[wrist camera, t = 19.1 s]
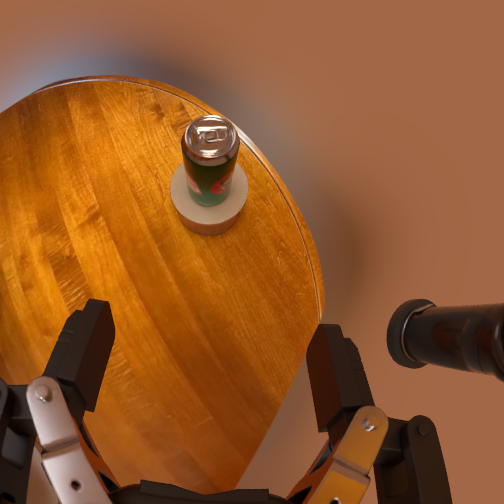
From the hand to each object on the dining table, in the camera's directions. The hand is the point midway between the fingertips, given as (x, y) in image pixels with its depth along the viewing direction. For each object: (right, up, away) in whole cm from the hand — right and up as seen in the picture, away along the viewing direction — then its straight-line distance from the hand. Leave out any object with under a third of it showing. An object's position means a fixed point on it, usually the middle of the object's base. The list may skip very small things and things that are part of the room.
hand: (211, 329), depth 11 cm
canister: (-5, +10, +31) cm, 33 cm away
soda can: (-4, +11, +24) cm, 27 cm away
